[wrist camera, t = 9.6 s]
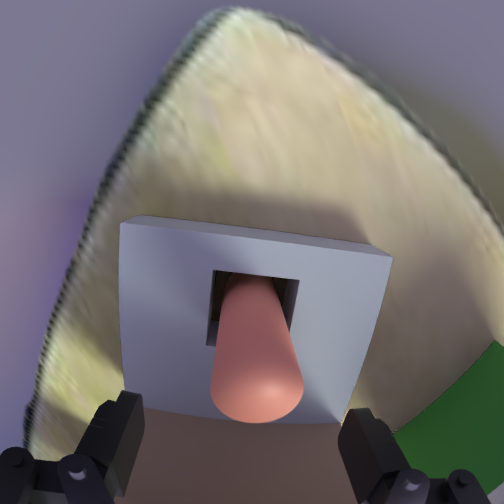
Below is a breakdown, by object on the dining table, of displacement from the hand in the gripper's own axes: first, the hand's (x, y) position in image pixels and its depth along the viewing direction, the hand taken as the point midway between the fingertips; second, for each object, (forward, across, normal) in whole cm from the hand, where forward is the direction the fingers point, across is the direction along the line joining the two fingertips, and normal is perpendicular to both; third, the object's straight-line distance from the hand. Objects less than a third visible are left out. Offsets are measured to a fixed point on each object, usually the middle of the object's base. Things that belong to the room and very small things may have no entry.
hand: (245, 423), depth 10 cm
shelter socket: (+14, -1, +3) cm, 14 cm away
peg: (+14, -1, 0) cm, 14 cm away
